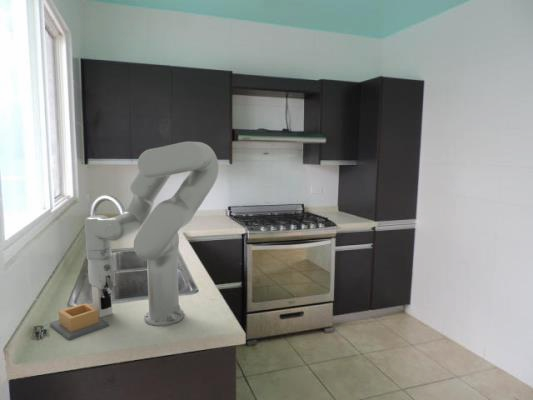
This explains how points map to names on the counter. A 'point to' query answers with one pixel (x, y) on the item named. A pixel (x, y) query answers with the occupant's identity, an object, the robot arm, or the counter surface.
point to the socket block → (78, 321)
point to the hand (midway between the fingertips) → (102, 305)
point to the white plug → (97, 302)
